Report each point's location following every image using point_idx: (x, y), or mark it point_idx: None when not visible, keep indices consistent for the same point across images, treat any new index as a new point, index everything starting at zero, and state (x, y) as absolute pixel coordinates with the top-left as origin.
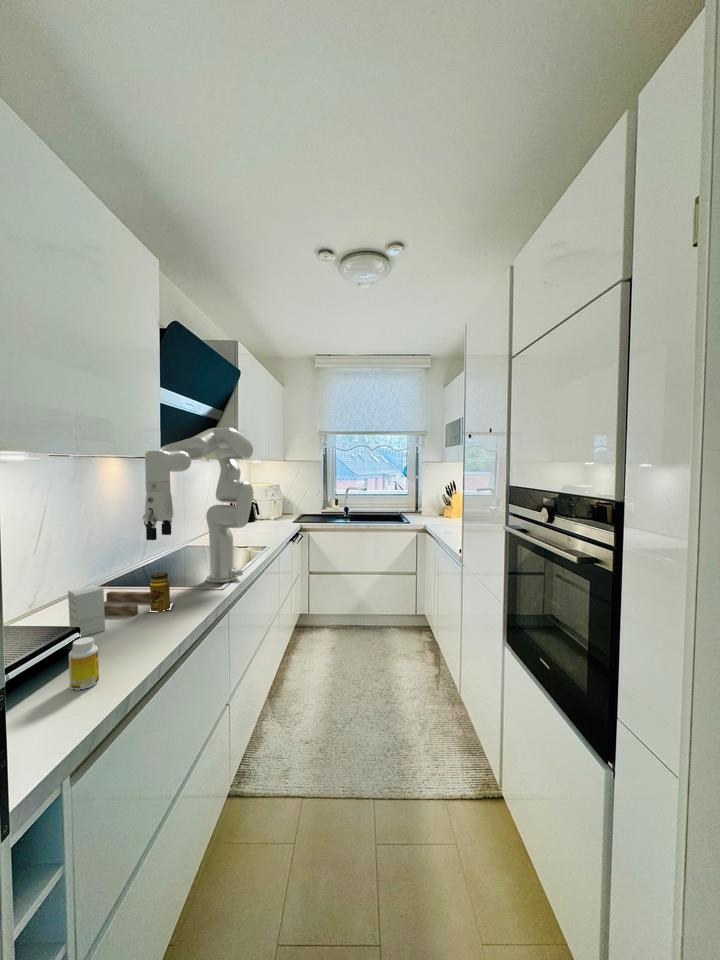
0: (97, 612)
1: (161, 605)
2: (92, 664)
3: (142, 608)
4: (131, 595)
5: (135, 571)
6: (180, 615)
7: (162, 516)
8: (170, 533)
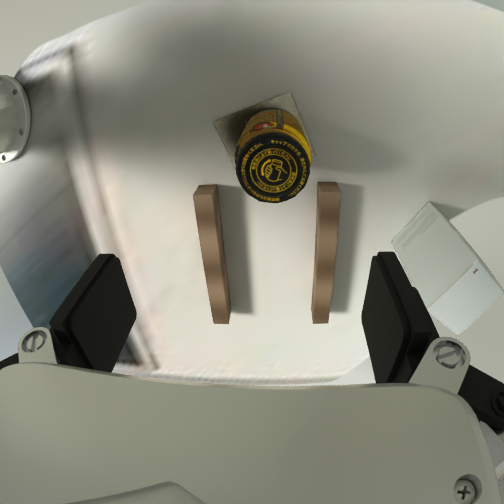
0: (459, 233)
1: (298, 123)
2: None
3: None
4: (221, 262)
5: None
6: (326, 45)
7: (385, 456)
8: (107, 258)
